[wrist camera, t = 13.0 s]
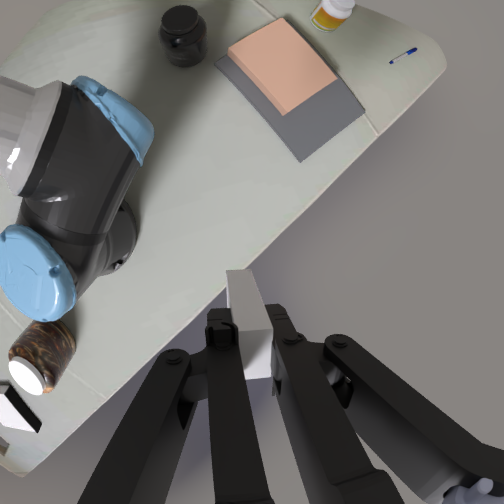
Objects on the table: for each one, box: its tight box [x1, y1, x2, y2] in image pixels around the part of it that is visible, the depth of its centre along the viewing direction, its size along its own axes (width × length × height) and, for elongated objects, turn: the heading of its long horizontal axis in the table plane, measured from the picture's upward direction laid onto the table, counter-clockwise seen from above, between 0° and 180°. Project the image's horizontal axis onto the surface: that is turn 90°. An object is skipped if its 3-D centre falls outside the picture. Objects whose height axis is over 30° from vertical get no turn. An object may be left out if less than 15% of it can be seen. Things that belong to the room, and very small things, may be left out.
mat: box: [214, 20, 365, 163], centre depth 39 cm, size 22×16×1 cm
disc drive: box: [0, 385, 42, 433], centre depth 50 cm, size 18×22×5 cm
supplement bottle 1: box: [158, 5, 207, 67], centre depth 30 cm, size 7×7×12 cm
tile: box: [227, 18, 338, 116], centre depth 36 cm, size 3×11×14 cm
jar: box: [9, 319, 76, 395], centre depth 40 cm, size 12×12×15 cm
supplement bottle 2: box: [310, 0, 355, 32], centre depth 31 cm, size 5×5×10 cm
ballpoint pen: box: [390, 48, 417, 64], centre depth 39 cm, size 10×1×1 cm, turn 130°
